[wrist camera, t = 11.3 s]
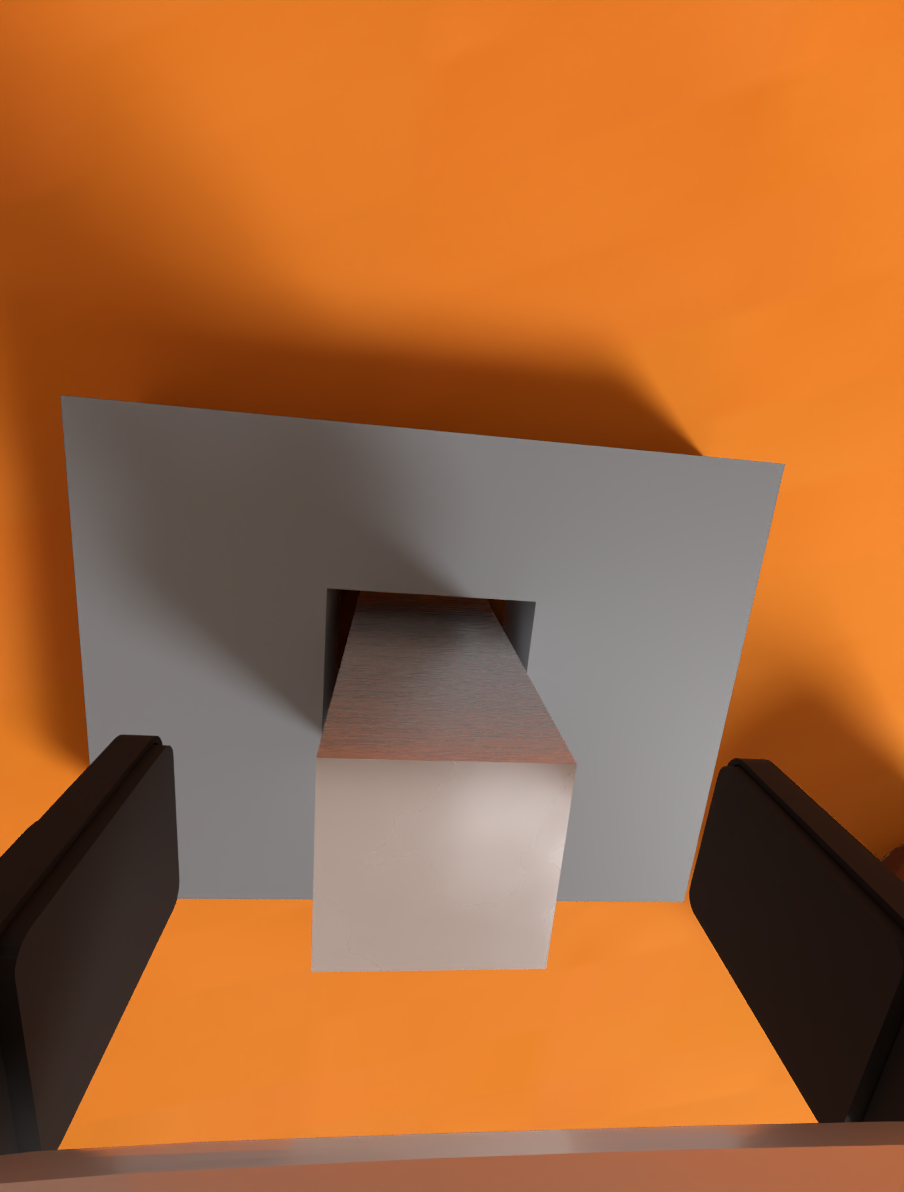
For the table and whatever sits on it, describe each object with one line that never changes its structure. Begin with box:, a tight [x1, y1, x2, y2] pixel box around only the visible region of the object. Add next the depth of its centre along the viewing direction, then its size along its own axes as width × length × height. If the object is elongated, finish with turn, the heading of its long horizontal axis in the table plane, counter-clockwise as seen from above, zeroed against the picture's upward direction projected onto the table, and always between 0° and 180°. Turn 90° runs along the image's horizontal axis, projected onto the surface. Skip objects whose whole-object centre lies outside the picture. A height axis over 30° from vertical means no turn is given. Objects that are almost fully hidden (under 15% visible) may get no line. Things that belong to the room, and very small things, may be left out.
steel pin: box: [311, 590, 577, 972], centre depth 15 cm, size 4×4×11 cm
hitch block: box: [60, 395, 785, 902], centre depth 18 cm, size 14×18×4 cm
